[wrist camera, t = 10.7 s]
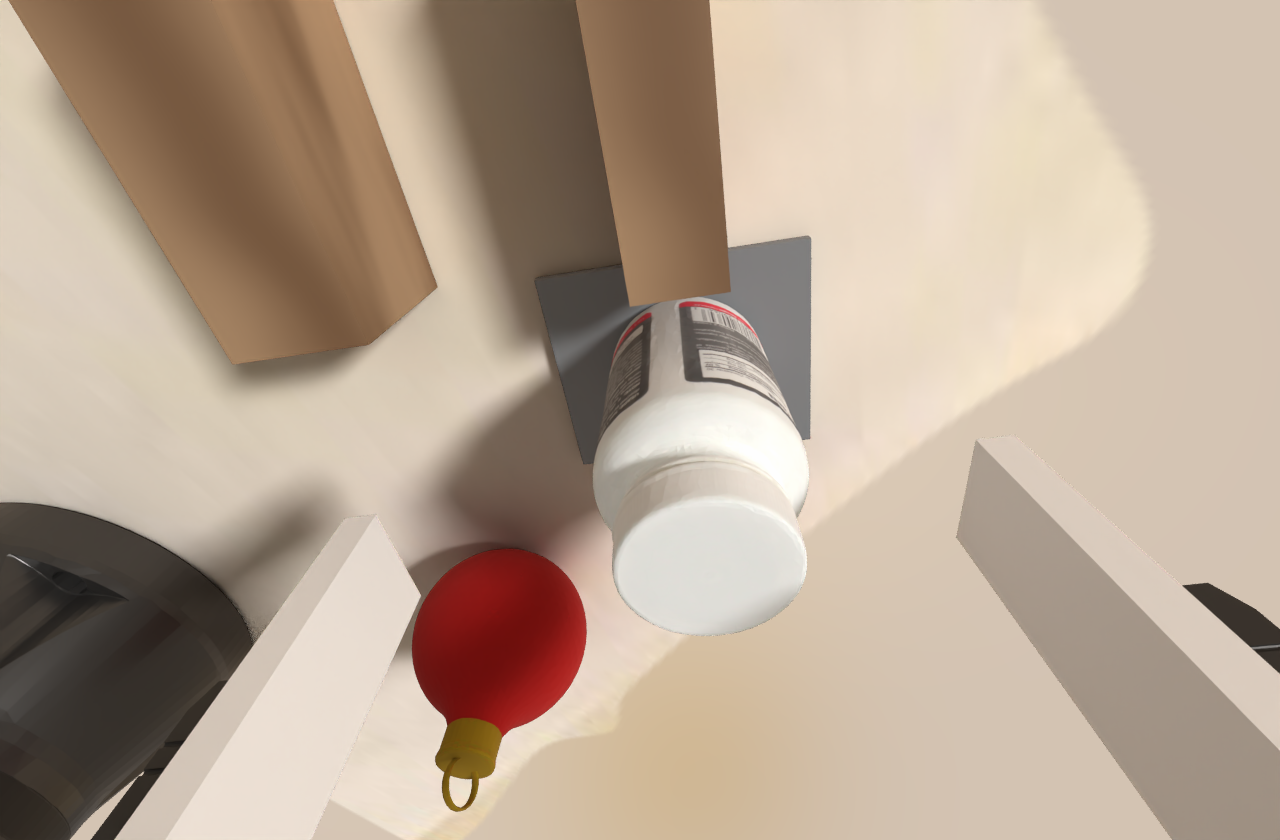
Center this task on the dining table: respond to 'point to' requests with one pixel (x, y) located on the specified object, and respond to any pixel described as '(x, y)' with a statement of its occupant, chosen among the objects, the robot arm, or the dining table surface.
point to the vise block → (358, 156)
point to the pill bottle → (700, 472)
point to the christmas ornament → (495, 653)
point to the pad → (600, 311)
